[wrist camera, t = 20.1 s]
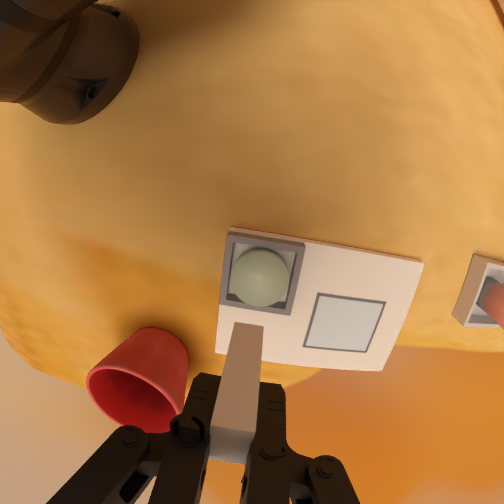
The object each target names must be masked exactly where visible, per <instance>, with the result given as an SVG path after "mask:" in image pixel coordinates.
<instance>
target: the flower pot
mask: <svg viewBox="0 0 504 504" xmlns="http://www.w3.org/2000/svg"><path fill="white" fill-rule="evenodd" d="M188 365H189V357H188V353H187V351H186V348H185V347H184V345H183V344H182V343H181V342H180V341H179V340H178V339H177V338H176V337H175V336H174V335H172V334H170V333H169V332H167V331H164V330H162V329H158V328H144V329H141V330H139V331H137V332H136V333H135V334H133V335H132V336H131V337H129V338H128V339H127V340H125V341H124V342H123V343H122V344H120V345H119V346H118V347H117V348H116V349H114V350H113V351H112V352H111V353H110V354H108V355H107V356H106V357H105V358H104V359H103V360H101V361H100V362H99V363H98V364H97V365H96V366H95V367H94V368H93V369H92V370H91V371H90V372H89V373H88V376H87V380H86V385H87V389H88V392H89V394H90V396H91V398H92V400H93V401H94V403H95V404H96V405H97V407H98V408H99V409H100V410H101V411H102V412H103V413H104V414H105V415H106V416H108V417H109V418H110V419H112V420H113V421H114V422H116V423H117V424H119V425H121V426H124V425H134V426H137V427H140V428H141V429H142V430H144V431H145V433H165V432H168V431H170V424H169V423H170V421H171V420H172V418H173V417H175V416H176V415H178V414H182V411H183V407H184V399H185V390H186V382H187V373H188Z"/></svg>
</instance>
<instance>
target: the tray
mask: <svg viewBox="0 0 504 504" xmlns="http://www.w3.org/2000/svg"><path fill="white" fill-rule="evenodd" d="M487 276H490V277H492V278H494V279H495V280H497V281H498V282H499V283H501V284H502V285H504V262H501V261H497V260H494V259H490V258H487V257H483V256H479V255H475V254H473V257H472V260H471V263H470V267H469V270H468V273H467V276H466V279H465V282H464V284H463V287H462V290H461V293H460V295H459V298H458V300H457V303H456V305H455V308H454V310H453V313H452V315H453V316H454V317H455V318H456V320H457V321H458V322H459V323H460V324H461V325H462V326H463V327H489V328H499V327H500V325H499V324H498V323H497V322H496V321H495V320H494V319H492V318H491V317H490V316H489V315H488V314H487V313H486V312H484V311H483V310H482V309H481V308H480V307H479V306H477V305H476V302H477V299H478V297H479V294H480V291H481V289H482V286H483V283H484V280H485V277H487Z"/></svg>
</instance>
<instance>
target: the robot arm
mask: <svg viewBox="0 0 504 504" xmlns="http://www.w3.org/2000/svg"><path fill="white" fill-rule="evenodd" d="M97 1H98V0H0V102H11V103H19V104H21V105H22V106H24V107H25V108H27V109H28V110H30V111H32V112H33V113H35V114H36V115H38V116H39V117H41V118H42V119H44V120H45V121H48V122H51V123H56V124H76V123H80V122H83V121H85V120H87V119H89V118H91V117H92V116H94V115H95V114H97V113H98V112H99V111H101V110H102V109H103V108H104V107H105V106H106V105H107V104H108V103H109V102H110V101H111V100H112V99H113V98H114V97H115V96H116V94H117V93H118V92H119V90H120V89H121V88H122V86H123V85H124V83H125V81H126V80H127V78H128V76H129V74H130V72H131V70H132V68H133V65H134V63H135V60H136V56H137V52H138V46H139V35H138V30H137V27H136V25H135V23H134V21H133V20H132V19H131V18H130V17H129V16H128V15H126V14H125V13H124V12H123V11H121V10H120V9H118V8H116V7H113V6H109V5H104V4H99V3H95V2H97ZM263 330H264V326H259V325H253V324H247V323H240V322H234V326H233V331H232V335H231V339H230V343H229V348H228V352H227V356H226V360H225V365H224V369H223V373H222V376H217V375H212V374H207V373H202V372H200V373H199V374H198V375H197V376H196V377H195V378H194V379H193V382H192V385H191V388H190V390H189V393H188V397H187V399H186V402H185V405H184V408H183V411H182V414H178V415H176V416H175V417H173V418H172V420H171V421H170V423H169V424H170V431H168V432H165V433H145V431H144V430H142V429H141V428H140V427H137V426H134V425H124V426H121V427H119V428H118V429H116V430H115V431H114V432H113V433H112V434H111V436H110V437H109V438H108V439H107V440H106V441H105V442H104V443H103V444H102V445H101V446H100V447H99V449H97V451H96V452H95V453H94V454H93V455H92V456H91V457H90V458H89V459H88V460H87V461H86V462H85V463H84V464H83V465H82V467H81V468H80V469H79V470H78V471H77V472H76V473H75V474H74V475H73V476H72V477H71V478H70V479H69V480H68V481H67V483H65V484H64V485H63V486H62V487H61V489H60V490H59V491H58V492H57V493H56V494H55V495H54V496H53V497H52V498H51V499H50V500H49V501H48V502H47V503H46V504H134V503H135V502H136V500H137V499H138V498H139V496H140V495H141V494H142V492H143V491H144V490H145V488H146V487H147V486H148V484H149V483H150V481H151V480H152V479H153V477H154V476H157V478H156V481H155V484H154V487H153V490H152V493H151V496H150V499H149V502H148V504H199V502H200V498H201V493H202V489H203V484H204V479H205V474H206V467H207V461H208V459H212V460H218V461H224V462H230V463H237V464H246V465H245V472H244V475H243V478H242V481H241V483H242V490H241V498H240V504H289V497H290V498H291V501H292V504H360V502H359V500H358V498H357V495H356V493H355V491H354V489H353V486H352V484H351V482H350V480H349V477H348V475H347V473H346V471H345V468H344V466H343V464H342V463H341V462H340V460H338V459H337V458H335V457H333V456H329V455H322V456H319V457H316V458H314V459H312V458H309V457H306V456H303V455H300V454H298V453H296V452H294V451H293V450H292V449H291V448H290V447H289V446H288V444H287V440H286V412H285V411H286V404H285V402H286V397H285V391H284V390H283V388H282V386H281V384H274V383H266V382H260V372H261V358H262V345H263Z"/></svg>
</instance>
